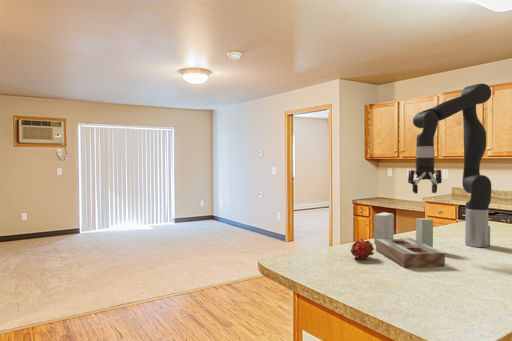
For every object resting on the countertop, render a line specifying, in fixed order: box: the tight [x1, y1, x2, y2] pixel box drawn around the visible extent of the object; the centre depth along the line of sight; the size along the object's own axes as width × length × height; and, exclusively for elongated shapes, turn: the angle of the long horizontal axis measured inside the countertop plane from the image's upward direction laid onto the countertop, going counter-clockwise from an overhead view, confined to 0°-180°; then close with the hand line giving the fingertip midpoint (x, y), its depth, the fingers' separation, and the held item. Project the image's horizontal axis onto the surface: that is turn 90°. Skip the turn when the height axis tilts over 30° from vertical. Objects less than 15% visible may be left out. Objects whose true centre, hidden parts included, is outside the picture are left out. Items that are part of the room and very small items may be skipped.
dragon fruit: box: [350, 238, 375, 260], centre depth 150 cm, size 8×8×12 cm
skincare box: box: [373, 211, 395, 245], centre depth 176 cm, size 8×6×15 cm
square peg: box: [415, 217, 434, 248], centre depth 164 cm, size 5×5×14 cm
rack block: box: [375, 237, 446, 269], centre depth 151 cm, size 16×26×5 cm, turn 5°
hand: (424, 193), depth 163 cm, fingers open, 8 cm apart
